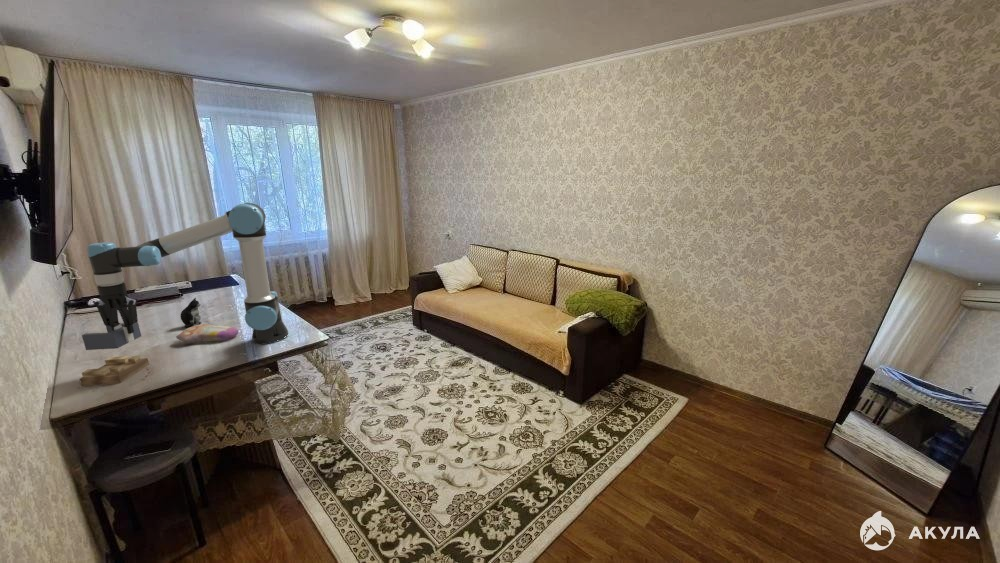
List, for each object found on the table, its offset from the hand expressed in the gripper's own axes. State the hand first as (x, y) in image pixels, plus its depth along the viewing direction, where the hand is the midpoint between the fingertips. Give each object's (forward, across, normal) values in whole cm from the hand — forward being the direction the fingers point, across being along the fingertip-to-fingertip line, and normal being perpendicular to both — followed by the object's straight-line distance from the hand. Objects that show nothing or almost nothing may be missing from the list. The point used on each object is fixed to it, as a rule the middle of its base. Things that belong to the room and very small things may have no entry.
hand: (126, 341), depth 149 cm
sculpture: (+14, -11, -33) cm, 37 cm away
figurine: (+14, +7, -51) cm, 53 cm away
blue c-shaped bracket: (0, +4, 0) cm, 4 cm away
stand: (+14, +5, +1) cm, 15 cm away
